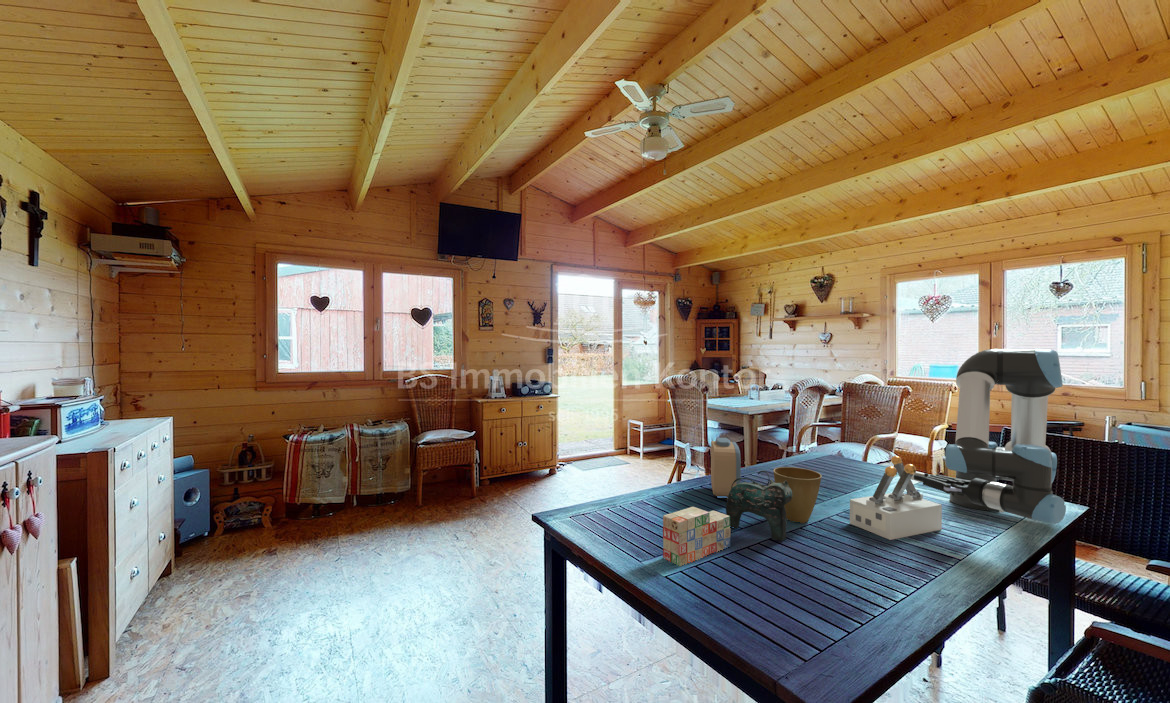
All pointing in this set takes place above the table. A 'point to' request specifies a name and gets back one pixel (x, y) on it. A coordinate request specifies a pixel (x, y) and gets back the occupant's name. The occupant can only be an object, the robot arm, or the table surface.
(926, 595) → the table surface
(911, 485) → the lever
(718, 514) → the stack of blocks
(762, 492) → the ceramic cat
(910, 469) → the lever middle
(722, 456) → the alarm clock
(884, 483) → the lever
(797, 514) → the plant pot
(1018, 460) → the robot arm
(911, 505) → the switch box
